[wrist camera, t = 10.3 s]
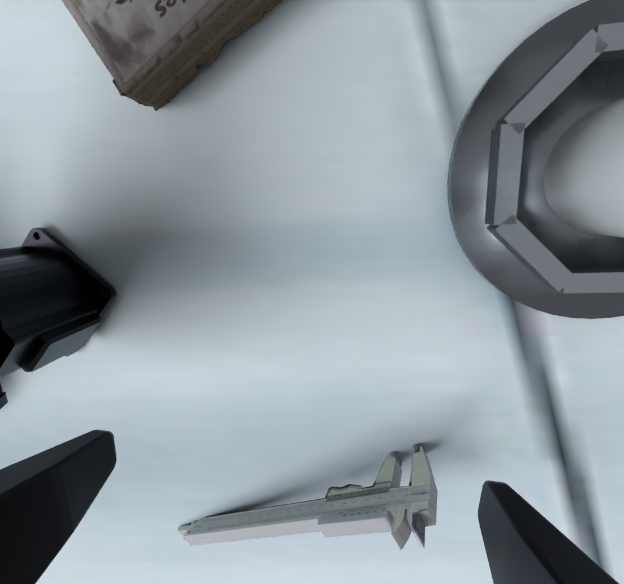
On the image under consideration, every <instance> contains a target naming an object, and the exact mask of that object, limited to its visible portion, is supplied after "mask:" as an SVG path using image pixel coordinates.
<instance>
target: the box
mask: <svg viewBox="0 0 624 584" xmlns="http://www.w3.org/2000/svg"><path fill="white" fill-rule="evenodd" d="M62 1H63V3H64V4H65V6H66V8H67V9H68V10H69V12H70V13H71V15H72V16H73V18H74V19H75V21H76V22H77V24H78V25H79V27H80V28H81V30H82V31H83V33H84V34H85V36H86V37H87V39H88V40H89V42H90V44H91V45H92V47H93V48H94V49H95V51H96V53H97V54H98V56H99V57H100V59H101V60H102V62H103V63H104V65H105V66H106V68H107V69H108V70H109V72H110V73H111V75H112V77H113V79H114V80H113V83H114V84H115V86H116V88H117V89H118V91H119V93H120V95H121V96H126V97H129V98H130V99H133V100H135V101H136V102H138V103H139V104H143V105H144V106H153V107H154V109H155V110H156V111H157V110H158V109H159V108H160V107H162V106H163V104H164V103H167V102H168V103H169V102H170V100H169V99H170V98H172V97H174V96H175V95H176V94H177V93H178V92H179V91H180V90H181V89H182V88H183V87H184V85H185V84H186V85H187V83H188V82H190V81H191V80H192V79H193V78H194V77H195V75H196V74H197V70H196V66H197V65H206V64H209V63H210V62H212V61H214V60H215V59H216V57H217V55H218V54H219V52H220V50H221V49H222V45H223V44H224V43H225V42H227V41H229V40H231V39H233V38H235V37H236V36H238V35H240V34H241V33H242V32H243V31H244V30H245V29H246V28H248V27H249V26H251V25H253V24H255V23H257V22H258V21H259V20H260V19H261V17H262V16H263V13H264V12H265V11H271V10H272V8H273V7H274V6H275V5H277V3H278V2H279V3H280V1H281V0H62Z"/></svg>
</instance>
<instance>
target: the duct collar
mask: <svg viewBox="0 0 624 584" xmlns="http://www.w3.org/2000/svg"><path fill="white" fill-rule="evenodd" d="M623 98H624V0H589V1H587V2H585V3H582V4H580V5H578V6H576V7H574V8H572V9H570V10H568V11H566V12H564V13H563V14H561V15H560V16H558V17H556V18H555V19H553V20H551V21H550V22H548V23H547V24H545V25H544V26H543V27H541V28H540V29H539V30H537V31H536V32H535V33H534V34H532V35H531V36H530V37H528V38H527V39H526V40H525V41H524V42H523V43H522V44H521V45H520V46H518V47H517V48H516V49H515V50H514V51H513V52H512V53H511V54H510V55H509V56H508V57H507V58H506V59H505V60H504V61H503V62H502V63H501V64H500V65H499V66H498V68H497V69H496V70H495V71H494V72H493V74H492V75H491V76H490V77H489V78H488V80H487V81H486V82H485V83H484V85H483V86H482V88H481V89H480V91H479V92H478V94H477V95H476V97H475V98H474V100H473V101H472V103H471V105H470V107H469V109H468V111H467V113H466V115H465V117H464V119H463V121H462V123H461V126H460V128H459V131H458V134H457V137H456V139H455V142H454V146H453V150H452V154H451V159H450V163H449V172H448V182H447V183H448V205H449V211H450V217H451V221H452V224H453V228H454V231H455V234H456V237H457V239H458V241H459V243H460V245H461V247H462V250H463V252H464V253H465V255H466V256H467V258H468V259H469V261H470V262H471V264H472V265H473V266H474V267H475V268H476V270H477V271H478V272H479V273H480V274H481V275H482V276H483V277H484V278H485V279H486V280H487V281H488V282H489V283H491V284H492V285H493V286H494V287H495V288H497V289H498V290H500V291H501V292H503V293H505V294H506V295H508V296H509V297H511V298H513V299H514V300H516V301H518V302H520V303H522V304H524V305H527V306H529V307H531V308H533V309H536V310H539V311H543V312H546V313H549V314H553V315H559V316H565V317H570V318H587V319H595V318H611V317H618V316H624V237H615V236H606V235H597V234H589V233H584V232H580V231H577V230H575V229H573V228H571V227H569V226H567V225H566V224H564V223H563V222H562V221H561V220H559V219H558V217H557V216H556V215H555V214H554V213H553V211H552V210H551V208H550V206H549V204H548V201H547V199H546V195H545V189H544V174H545V168H546V165H547V161H548V158H549V156H550V154H551V152H552V150H553V148H554V146H555V145H556V143H557V141H558V140H559V139H560V137H561V136H562V135H563V134H564V133H565V132H566V130H567V129H568V128H569V127H570V126H572V125H573V124H574V123H575V122H576V121H578V120H579V119H580V118H582V117H583V116H585V115H586V114H588V113H590V112H592V111H594V110H596V109H599V108H601V107H604V106H606V105H608V104H611V103H613V102H616V101H618V100H621V99H623Z"/></svg>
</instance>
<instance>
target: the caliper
mask: <svg viewBox="0 0 624 584" xmlns="http://www.w3.org/2000/svg"><path fill="white" fill-rule="evenodd" d="M401 465H402V462H401V460H400V458H399V456H398V454H397V453H396V451H394V452H391V453H388V455H387V457H386V459H385V461H384V463H383V465H382V467H381V469H380V471H379V473H378V476H377V478H376V480H375V482H374V484H373V486H370V487H364V488H363V487H362V486H358V485H352V484H349V485H346V486H344V487H330V488H329V489H328V492H327V494H326V497H325V498H323V499H317V500H310V501H304V502H298V503H292V504H285V505H279V506H273V507H267V508H260V509H254V510H247V511H241V512H234V513H227V514H220V515H214V516H207V517H205V518H202V519H199V520H196V521H193V522H192V523H191V525H183V526H180V527H178V530H179V532H180V534H181V535H182V536H183V538H184V539H185V540H187V541H188V543H189V544H190V546H191V545H200V544H210V543H219V542H229V541H238V540H247V539H255V538H264V537H273V536H282V535H291V534H300V533H309V532H317V531H322V533H323V534H324V536H325V537H333V536H344V535H356V534H368V533H380V532H390V531H392V536H393V538H394V540H395V541H396V543H397V545H398V547H399V548H400V549H402V548H403V547H404V545H405V544H406V542H407V540H408V538H409V536H410V534H411V530H412V532H413V534H414V535H415V537H416V539H417V541H418V542H419V544H420V546H421V547H423V548H424V543H425V526H432V525H436V510H437V489H436V485H435V481H434V477H433V474H432V470H431V466H430V463H429V460H428V457H427V455H426V454H425V452H424V450H423V448H422V446H420V445H414V448H413V459H412V467H411V475H410V483H409V486H403V487H400V481H401V474H402V470H401Z"/></svg>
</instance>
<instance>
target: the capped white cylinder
mask: <svg viewBox="0 0 624 584" xmlns="http://www.w3.org/2000/svg"><path fill="white" fill-rule="evenodd" d="M544 189H545V195H546V199H547V201H548V204H549V206H550V208H551V210H552V211H553V213H554V214H555V215H556V216H557V217H558V219H559V220H561V221H562V222H563V223H564V224H566V225H567V226H569V227H571V228H573V229H575V230H577V231H580V232H584V233H589V234H597V235H606V236H615V237H624V98H623V99H621V100H618V101H616V102H613V103H611V104H608V105H606V106H604V107H601V108H599V109H596V110H594V111H592V112H590V113H588V114H586V115H585V116H583V117H582V118H580V119H579V120H578V121H576V122H575V123H574V124H573V125H572V126H570V127H569V128H568V129H567V130H566V132H565V133H564V134H563V135H562V136H561V137H560V139H559V140H558V141H557V143H556V145H555V146H554V148H553V150H552V152H551V154H550V156H549V158H548V161H547V165H546V168H545V174H544Z"/></svg>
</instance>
